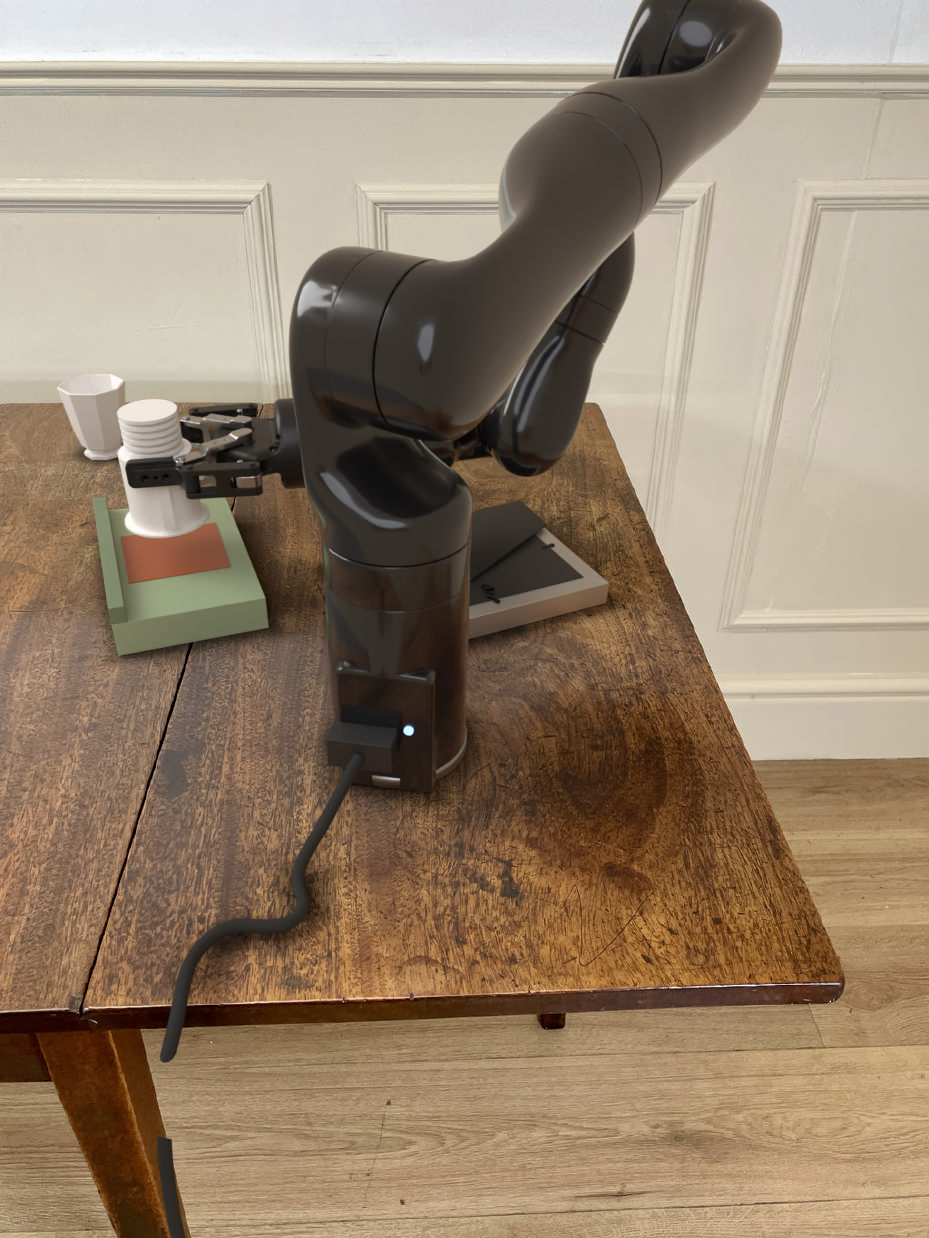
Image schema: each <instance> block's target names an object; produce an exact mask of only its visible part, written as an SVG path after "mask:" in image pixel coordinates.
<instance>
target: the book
mask: <svg viewBox="0 0 929 1238" xmlns="http://www.w3.org/2000/svg"><path fill="white" fill-rule="evenodd" d="M200 501H202V502H203V503H205V504H206V505H207V506H208V508H209V511H210V516H209V519H208V520H207V521H206V523H205V524H203V525H202V526H201V527H199V528H198V529H196V530H194V531H191V532H189V533H186V534H183V535H179V536H174V537H167V538H149V537H143V536H139V535H136V534H134V533H132V532H130V531H129V530H128V529H127V528H126V526H125V517H126V515H127V514H128V512H129V511H130V509H129V507H126V508H125V507H123V508H120V509H112V510H111V509H110V510H109V505H108V500H107V496H99V497H98V496H97V497H92V505H93V512H94V520H95V526H96V533H97V540H98V548H99V554H100V563H101V568H102V576H103V585H104V590H105V597H106V604H107V611H108V615H109V621H110V624H111V628H112V633H113V637H114V643H115V647H116V652H117V656H118V657H121V656H125V655H131V654H136V653H141V652H142V653H143V652H147V651H152V650H157V649H162V648H168V647H174V646H179V645H184V644H189V643H196V642H199V641H205V640H211V639H217V638H222V637H226V636H232V635H237V634H238V635H239V634H244V633H248V632H253V631H254V632H255V631H259V630H264V629H268V628H270V627H269V617H268V607H267V600H266V599H267V598H266V596H265V592H264V590H263V588H262V586H261V582H260V581H259V578H258V576H257V573H256V571H255V568H254V565H253V563H252V561H251V558H250V556H249V552H248V550H247V548H246V545H245V543H244V541H243V538H242V535H241V533H240V530H239V527H238V526H237V523H236V520H235V518H234V515H233V512H232V509H231V508H230V505H229V502H228V500H227V498H209V499H200Z"/></svg>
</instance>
